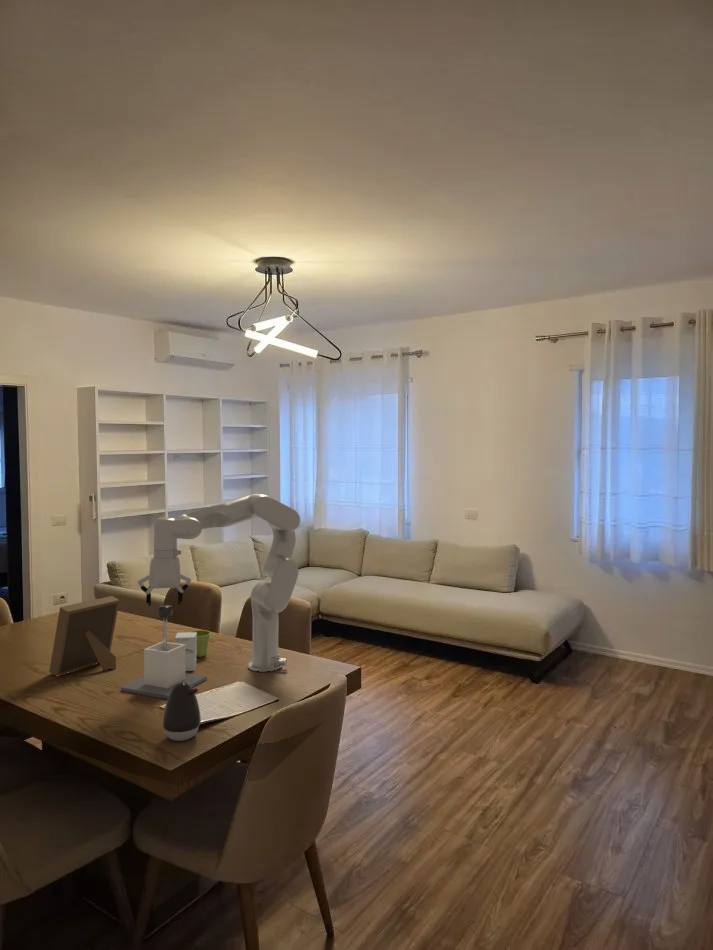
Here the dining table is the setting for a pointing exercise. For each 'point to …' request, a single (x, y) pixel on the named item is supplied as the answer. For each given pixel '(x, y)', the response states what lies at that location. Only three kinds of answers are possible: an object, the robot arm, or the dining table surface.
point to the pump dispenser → (181, 713)
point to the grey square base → (163, 671)
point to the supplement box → (188, 648)
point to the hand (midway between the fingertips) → (164, 604)
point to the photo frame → (85, 636)
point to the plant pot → (202, 642)
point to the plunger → (165, 622)
